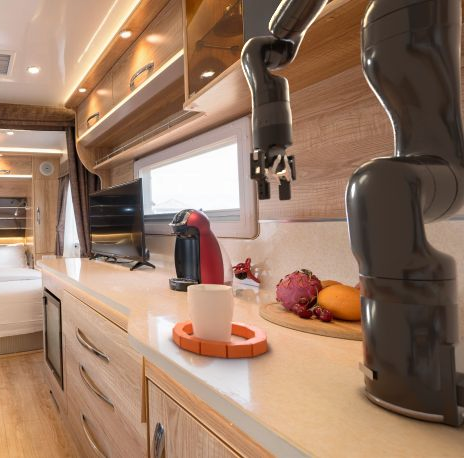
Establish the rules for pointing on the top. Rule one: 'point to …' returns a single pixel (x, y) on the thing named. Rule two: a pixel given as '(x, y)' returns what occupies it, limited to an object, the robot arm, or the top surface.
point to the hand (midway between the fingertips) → (275, 200)
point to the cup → (211, 311)
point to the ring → (222, 349)
